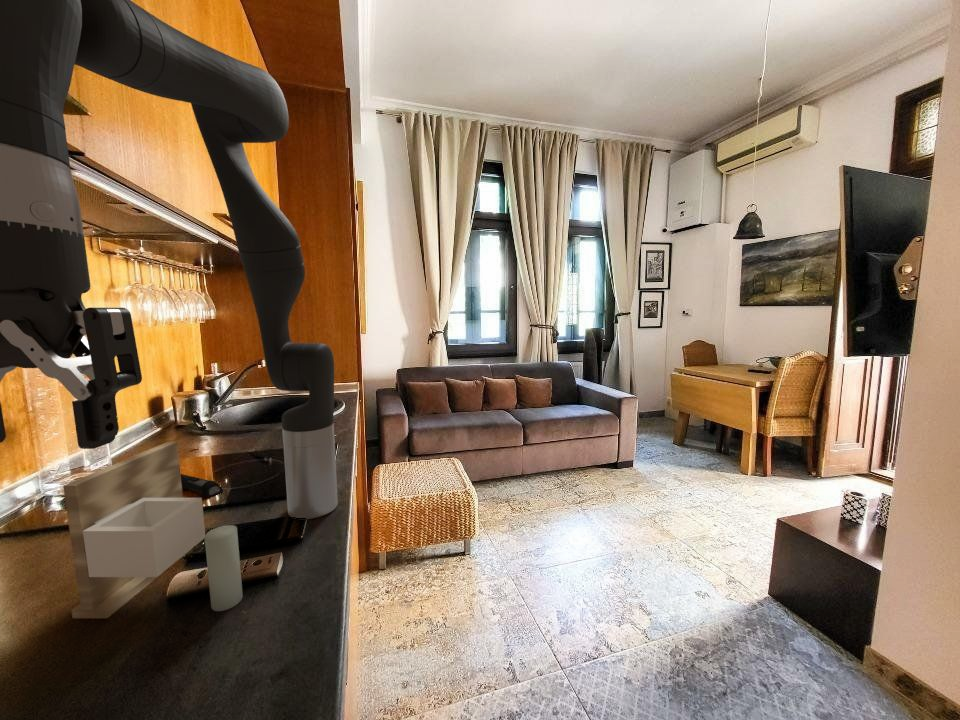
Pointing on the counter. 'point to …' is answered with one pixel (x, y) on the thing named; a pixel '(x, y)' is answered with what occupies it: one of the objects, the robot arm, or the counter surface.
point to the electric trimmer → (200, 486)
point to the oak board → (103, 496)
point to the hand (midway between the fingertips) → (41, 445)
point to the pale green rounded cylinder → (223, 567)
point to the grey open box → (144, 537)
